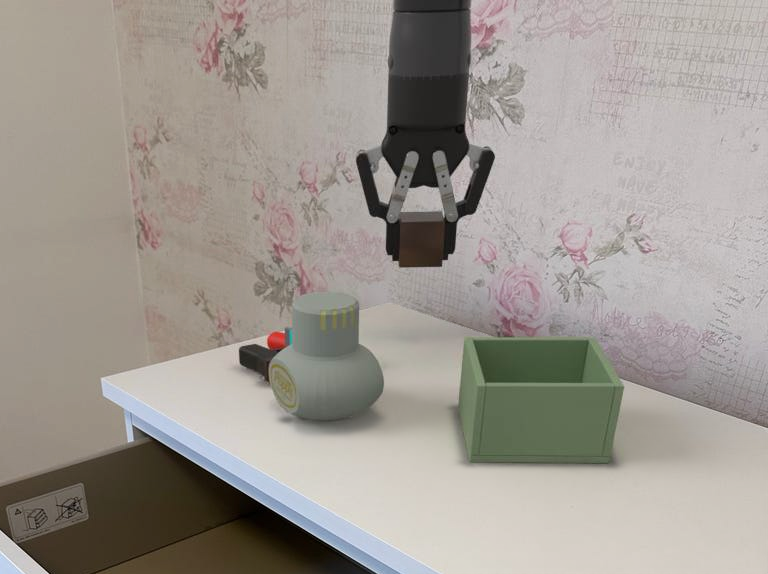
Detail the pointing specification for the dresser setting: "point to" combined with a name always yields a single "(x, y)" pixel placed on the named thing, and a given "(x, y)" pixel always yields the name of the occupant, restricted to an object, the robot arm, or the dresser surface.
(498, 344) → the green open box
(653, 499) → the dresser surface
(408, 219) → the walnut block
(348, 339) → the air freshener
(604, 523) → the dresser surface
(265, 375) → the toy gun
